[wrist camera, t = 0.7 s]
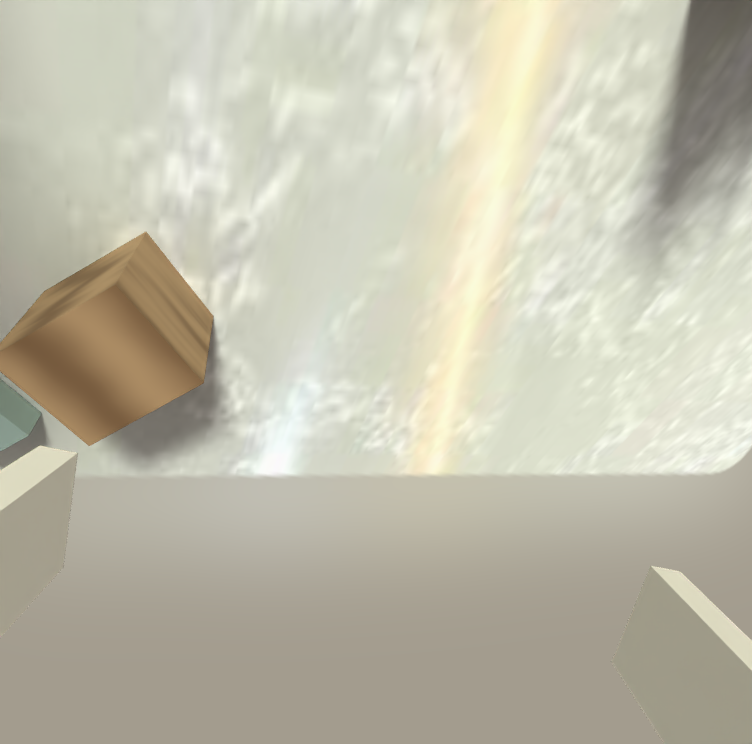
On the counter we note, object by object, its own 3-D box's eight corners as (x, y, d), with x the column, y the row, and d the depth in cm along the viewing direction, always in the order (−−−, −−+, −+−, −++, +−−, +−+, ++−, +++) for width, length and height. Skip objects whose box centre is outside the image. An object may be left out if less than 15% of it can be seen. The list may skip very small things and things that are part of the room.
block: (146, 231, 37) (115, 284, 29) (213, 316, 41) (203, 383, 33) (44, 291, 38) (-14, 359, 30) (121, 367, 42) (89, 445, 34)
